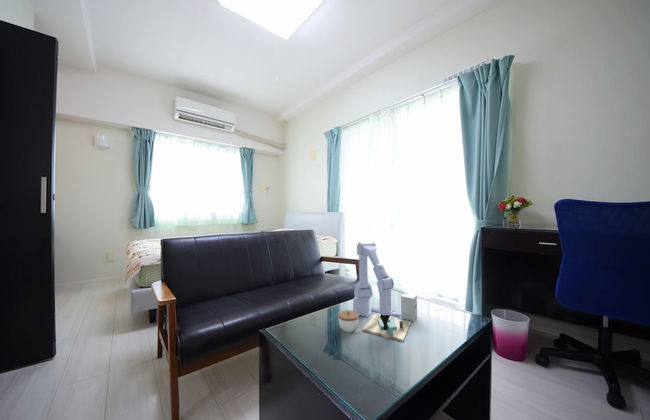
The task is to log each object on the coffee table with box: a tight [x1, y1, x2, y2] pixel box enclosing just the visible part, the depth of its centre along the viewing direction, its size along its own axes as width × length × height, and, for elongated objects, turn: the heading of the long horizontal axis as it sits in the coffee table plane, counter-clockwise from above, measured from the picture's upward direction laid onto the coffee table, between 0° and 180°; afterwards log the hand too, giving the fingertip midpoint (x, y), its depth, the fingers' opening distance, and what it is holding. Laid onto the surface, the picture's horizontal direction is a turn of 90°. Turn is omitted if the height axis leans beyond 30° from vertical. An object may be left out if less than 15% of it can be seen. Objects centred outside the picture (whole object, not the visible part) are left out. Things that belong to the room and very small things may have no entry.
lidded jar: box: [337, 309, 360, 333], centre depth 116 cm, size 11×11×9 cm
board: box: [362, 314, 412, 342], centre depth 118 cm, size 20×20×4 cm
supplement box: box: [400, 292, 418, 322], centre depth 129 cm, size 7×7×13 cm
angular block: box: [378, 319, 397, 335], centre depth 115 cm, size 14×8×3 cm, turn 175°
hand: (385, 329), depth 111 cm, fingers closed, pressing on angular block
